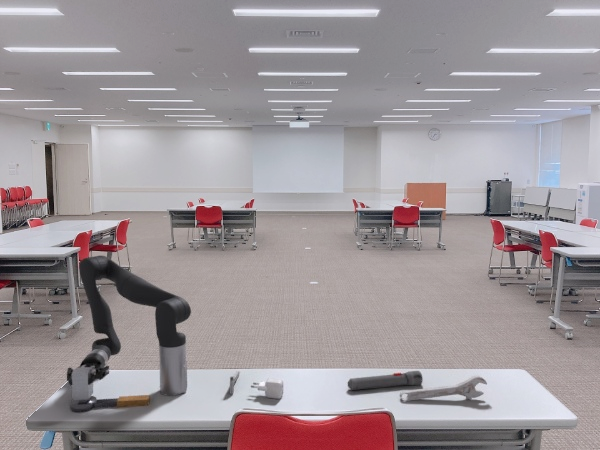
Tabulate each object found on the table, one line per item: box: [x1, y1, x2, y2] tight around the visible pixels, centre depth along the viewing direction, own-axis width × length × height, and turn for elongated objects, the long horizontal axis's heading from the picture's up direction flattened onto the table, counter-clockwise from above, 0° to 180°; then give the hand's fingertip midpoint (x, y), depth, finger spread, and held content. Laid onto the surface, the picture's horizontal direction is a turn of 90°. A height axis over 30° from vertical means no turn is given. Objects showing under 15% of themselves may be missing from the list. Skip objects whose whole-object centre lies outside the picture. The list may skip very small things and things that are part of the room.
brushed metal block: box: [71, 367, 94, 400], centre depth 159 cm, size 5×5×9 cm
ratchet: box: [69, 394, 151, 413], centre depth 161 cm, size 25×8×6 cm, turn 98°
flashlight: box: [347, 370, 424, 391], centre depth 176 cm, size 5×28×5 cm, turn 103°
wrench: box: [399, 375, 488, 402], centre depth 166 cm, size 8×2×30 cm
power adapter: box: [250, 377, 284, 400], centre depth 168 cm, size 11×5×6 cm, turn 76°
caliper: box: [229, 370, 241, 396], centre depth 179 cm, size 20×1×6 cm, turn 0°
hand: (80, 382), depth 156 cm, fingers closed on brushed metal block, 5 cm apart
